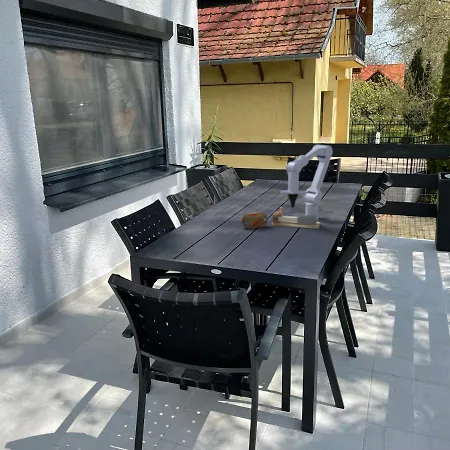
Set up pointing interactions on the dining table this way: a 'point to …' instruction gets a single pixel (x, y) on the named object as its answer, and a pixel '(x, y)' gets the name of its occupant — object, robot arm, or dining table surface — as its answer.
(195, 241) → the dining table surface
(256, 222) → the tin
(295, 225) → the base board
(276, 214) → the socket block
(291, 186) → the robot arm
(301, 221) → the grey rectangular sleeve
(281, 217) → the white bar
